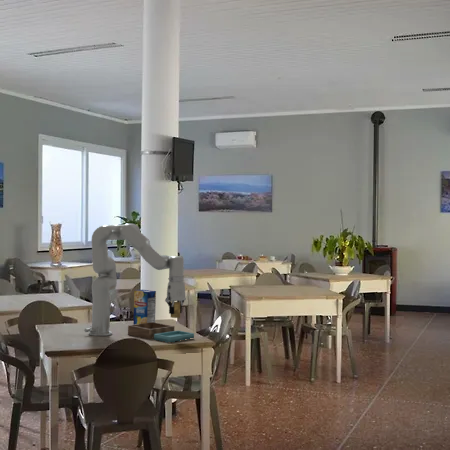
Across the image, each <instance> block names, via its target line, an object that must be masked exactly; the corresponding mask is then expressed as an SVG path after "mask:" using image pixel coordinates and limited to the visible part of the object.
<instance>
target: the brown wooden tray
mask: <svg viewBox="0 0 450 450" xmlns="http://www.w3.org/2000/svg"><path fill="white" fill-rule="evenodd" d="M172 331H175V326H174V325H170V324H164V323H158V322H155V323H154V322H150V323H143V324H135V325H133V324H129V325H128V326H127V335H128V336H133V337H134V336H135V337H139V338H144V339H149V340H152V338H153V339H154V334H158V333H165V332H172Z"/></svg>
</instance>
